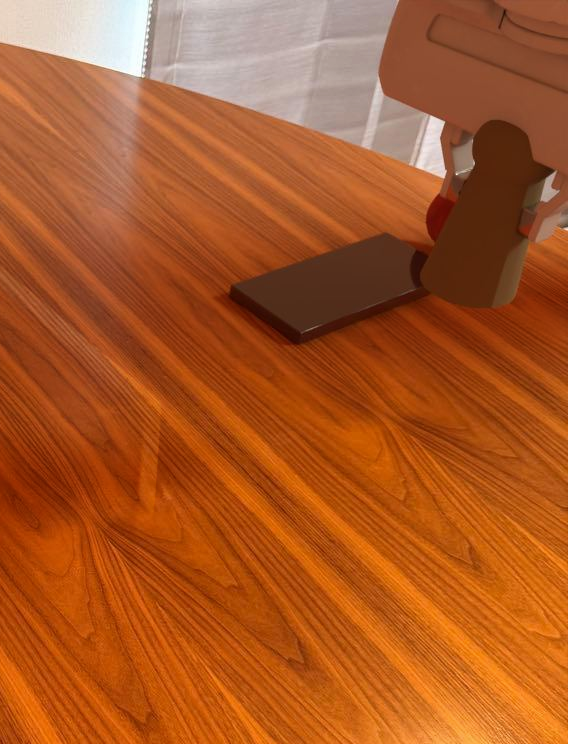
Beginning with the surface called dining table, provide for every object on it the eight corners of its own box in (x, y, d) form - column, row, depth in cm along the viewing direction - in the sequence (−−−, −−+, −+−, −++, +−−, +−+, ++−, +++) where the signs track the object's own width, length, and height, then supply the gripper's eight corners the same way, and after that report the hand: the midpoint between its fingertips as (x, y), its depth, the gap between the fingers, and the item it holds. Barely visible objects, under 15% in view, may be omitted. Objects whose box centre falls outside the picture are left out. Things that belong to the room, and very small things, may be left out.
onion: (413, 235, 97) (439, 156, 92) (473, 242, 97) (503, 163, 91) (417, 263, 93) (445, 182, 88) (480, 271, 93) (512, 190, 87)
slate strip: (382, 242, 96) (386, 231, 95) (455, 284, 91) (459, 272, 90) (228, 296, 88) (230, 284, 87) (297, 345, 83) (301, 332, 82)
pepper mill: (413, 256, 66) (467, 89, 58) (505, 264, 65) (572, 96, 58) (427, 304, 62) (488, 130, 54) (525, 312, 61) (601, 138, 53)
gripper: (822, 14, 46) (678, 277, 56) (469, -85, 58) (402, 146, 68) (748, 37, 43) (611, 308, 53) (396, -71, 55) (337, 167, 65)
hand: (492, 217), depth 60 cm, fingers closed on pepper mill, 4 cm apart
